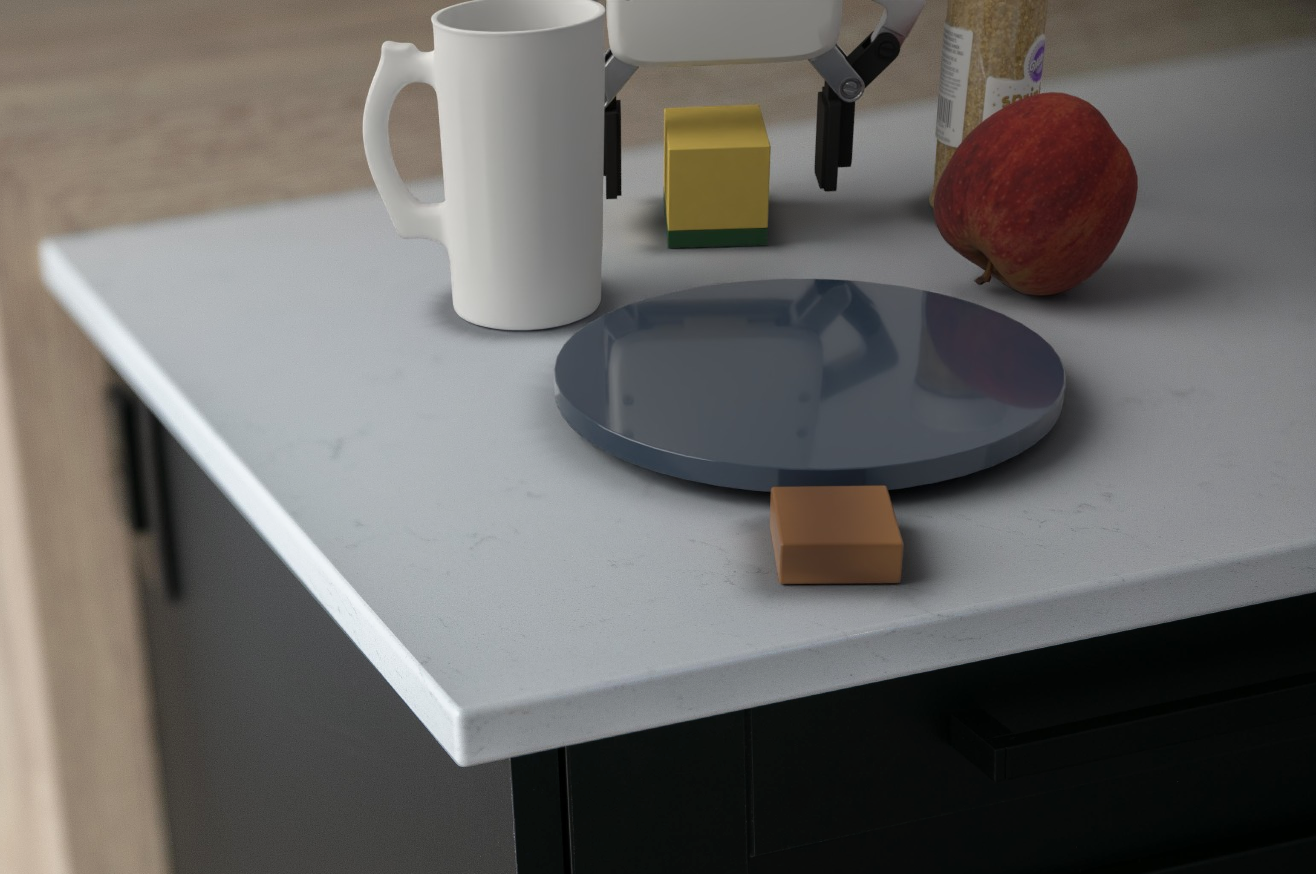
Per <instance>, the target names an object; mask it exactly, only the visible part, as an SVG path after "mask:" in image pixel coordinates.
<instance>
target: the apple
mask: <svg viewBox="0 0 1316 874" xmlns="http://www.w3.org/2000/svg"><path fill="white" fill-rule="evenodd" d="M1138 189H1139V177H1138V172H1137V169H1136V165H1135V163H1134V161H1133V158H1132V156H1131V154H1130V151H1129V150H1128V147H1126V145H1125V144H1124V143H1123V142H1122V140H1121V139H1120V138H1119V137H1118V135H1117V134H1116V132H1115V131H1114V129H1113V128H1112V126H1111V124H1110V123H1109V121H1108V120H1107V119H1106V117H1105V116H1104V115H1103V113H1102V112H1101V111H1100V110H1099V109H1098V108H1097V107H1095V106H1094V105H1093V104H1092V103H1090V102H1089V101H1087V100H1085V99H1083V98H1081V97H1079V96H1076V95H1072V94H1069V93H1065V92H1060V91H1059V92H1057V91H1049V92H1042V93H1041V92H1040V94H1036V95H1032V96H1029V97H1026V98H1023V99H1021V100H1018V101H1015V102H1013V103H1011V104H1009V105H1007V106H1005V107H1004V108H1002V109H1001V110H999V111H997V112H996V113H994V114H992V115H991V116H990V117H988V118H987V119H985V120H984V121H983V122H982V123H980V124H979V125H978V126H977V127H976V128H975V129H974V130H973V131H972V132H971V133H969V134H968V135H967V137H966V138H965V139H964V140H963V141H962V143H961V144H960V145H959V146H958V148H957V150H956V151H955V153H954V154H953V156H952V158H951V159H950V161H949V163H948V164H947V166H946V168H945V169H944V171H943V173H942V175H941V177H940V179H939V182H938V184H937V187H936V191H935V196H934V208H933V218H934V223H935V227H936V228H937V231H938V232H939V234H940V236H941V238H942V239H943V240H944V241H945V243H947V245H948V246H950V248H952V249H953V251H955V252H956V253H958V254H959V255H961V256H962V257H964V259H966V260H967V261H968V262H971V263H973V264H974V265H976V266H977V267H979V268H980V269H981V270H982V271H984V272H983V273H982V274H981V275H980V276H977V278H976V279H974V280H973V281H974V283H976V284H977V285H978V286H981V285H982V286H983V284H986V283H990V282H991V280H992V277H993V278H995V279H997V280H998V281H999V282H1001V283H1002V284H1004V285H1006V286H1008V287H1010V288H1011V289H1013V290H1015V291H1017V292H1018V293H1021V294H1025V295H1030V296H1051V295H1057V294H1061V293H1064V292H1067V291H1069V290H1072V289H1074V288H1075V287H1078V286H1079V285H1080V284H1082V283H1084V282H1085V281H1086V280H1088V279H1089V278H1090V277H1091V276H1093V275H1094V274H1095V273H1096V272H1097V271H1099V269H1101V267H1102V266H1103V265H1104V264H1105V263H1106V261H1107V260H1108V259H1109V258H1110V257H1111V255H1112V254H1113V252H1114V251H1115V249H1116V248H1117V246H1118V244H1119V243H1120V241H1121V239H1122V237H1123V235H1124V233H1125V231H1126V229H1127V227H1128V225H1129V224H1130V223H1129V222H1130V220H1131V217H1132V215H1133V213H1134V209H1135V206H1136V202H1137V198H1138V191H1139V190H1138Z"/></svg>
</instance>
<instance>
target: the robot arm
mask: <svg viewBox="0 0 1316 874" xmlns="http://www.w3.org/2000/svg"><path fill="white" fill-rule="evenodd" d="M592 1H595V2H598V3H600V1H601V0H592ZM871 1H873V2H874V3H876V4H878V5H881V6H882V7H883V11H882V15H881V17H880V18H879V19H878V23H877V25H876V27H875V28H874V30H873V31H871V32H870V33H869V34H868V35H867V36H866V37H865V38H864V39H863V40H862V41H861V42H860V43H859V44H858V45H857V46H855V48H854V49H853V50H852V51H851V52H850V53H849V54H848V55H847V53H846V52H845V51H844V49H842V47H841V46H840V45H839V43H838V41H839V38H840V34H841V28H842V20H843V5H844V4H843V3H844V0H604V5H605V6H604V7H605V9H606V13H605V22H606V30H607V37H608V44H609V46H608V47H607V48H606V49H605V99H604V166H603V177H605V200H618V197H622V196H623V195H622V193H623V191H622V104H621V103H622V102H621V99H617V95H618V94H619V93H620V92H621V90H622V89H623V88H624V86H625V85H626V84H627V83H628V81H630V79H631V78H632V77H633V75H635V73H636V72H637V71H638V70H639V68H640V67H641V68H681V67H683V68H684V67H708V66H710V67H712V66H733V65H735V66H736V65H752V64H753V65H754V64H756V65H757V64H775V63H790V62H792V63H793V62H802V61H806V60H807V61H808V62H809V63H810V64H811V65H812V67H813V68H814V69H815V70H816V71H817V73H818V74H819V75H820V77H821V78H822V79H823V80H824V85H823V86H822V87H821V91H818V92H817V100H816V103H817V104H816V122H815V123H816V124H815V142H814V143H815V144H814V145H815V146H814V164H813V165H814V167H813V168H814V169H813V170H814V175H815V178H816V181H817V184H818V187H819V189H820V190H823V191H824V192H826V193H828V192H829V193H830V192H837V189H838V178H839V177H838V175H839V168H851V167H852V163H853V152H854V150H853V149H854V134H855V133H854V132H855V115H856V113H855V112H856V101H858V100H860V98H861V97H862V96H863V95H864V93H865V89H866V88H868V86H870V84H871V83H872V82H874V80H876V79H877V78H878V77H879V76H880V75H881V74H882V73H883V72H884V71H885V70H886V69H887V68H888V67H889V66H890V65H891V64H892V63H893V62H894V61H895V60H896V59H897V58H898V56H899V55H900V53H901V48H902V46H903V44H904V43H905V41H906V39H908V37H909V36H910V34H911V32H912V30H913V29H914V27H915V25H916V23H917V22H918V20H919V19H920V16H921V15H922V13H923V11H924V9H925V8H926V5H927V0H871Z"/></svg>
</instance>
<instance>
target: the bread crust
mask: <svg viewBox="0 0 1316 874" xmlns="http://www.w3.org/2000/svg"><path fill="white" fill-rule="evenodd" d="M769 506H770V507H769V529H770V536H771V542H772V547H773V553H774V560H775V561H774V562H775V566H776V573H777V579H778V582H779V584H781V585H809V584H810V585H813V584H814V585H819V584H821V585H825V584H826V585H827V584H828V585H829V584H899V583H901V581H902V573H903V572H902V571H903V559H904V545H905V543H904V540H903V537H902V534H901V531H900V527H899V524H898V519H897V516H896V513H895V510H894V507H893V503H892V499H891V496H890V493H889V490H888V489H887V486H805V487H772V489H771V492H770V503H769Z"/></svg>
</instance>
